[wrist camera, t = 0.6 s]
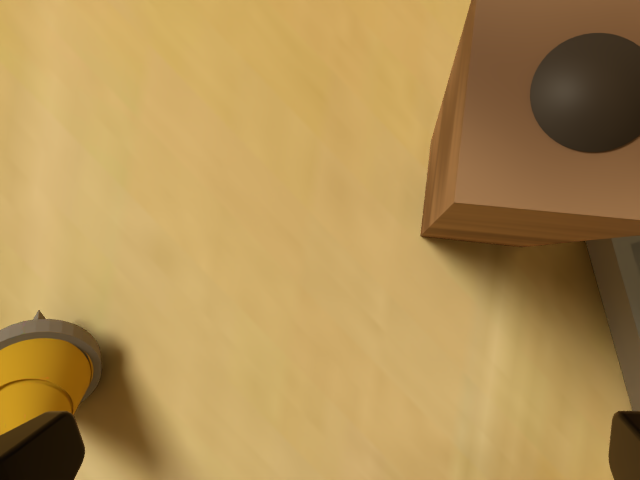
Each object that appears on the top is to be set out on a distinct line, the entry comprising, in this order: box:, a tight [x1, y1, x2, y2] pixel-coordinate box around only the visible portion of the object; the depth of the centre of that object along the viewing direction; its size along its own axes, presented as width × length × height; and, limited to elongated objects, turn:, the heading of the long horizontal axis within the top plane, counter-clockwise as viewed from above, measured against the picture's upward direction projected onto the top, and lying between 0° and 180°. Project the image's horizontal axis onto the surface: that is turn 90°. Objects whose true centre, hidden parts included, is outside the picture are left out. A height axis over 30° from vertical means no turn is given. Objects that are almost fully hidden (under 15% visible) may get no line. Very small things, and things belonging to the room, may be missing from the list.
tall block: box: [421, 0, 640, 247], centre depth 15 cm, size 4×4×13 cm
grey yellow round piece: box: [0, 310, 102, 435], centre depth 21 cm, size 5×5×10 cm
